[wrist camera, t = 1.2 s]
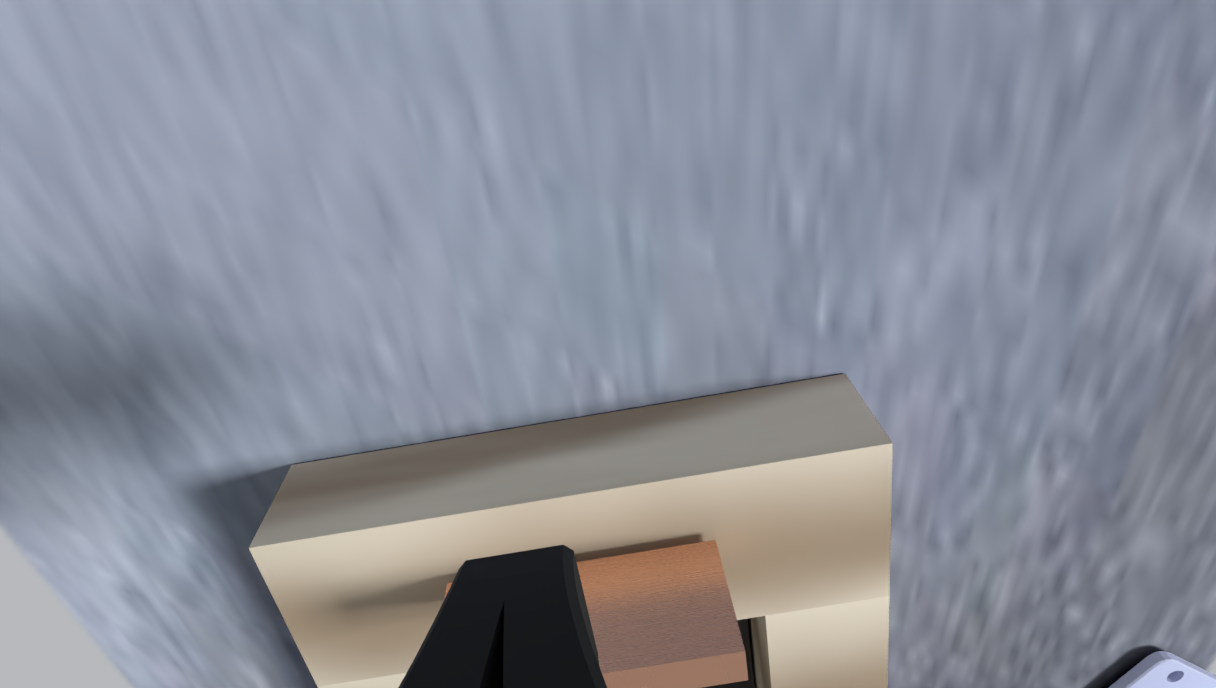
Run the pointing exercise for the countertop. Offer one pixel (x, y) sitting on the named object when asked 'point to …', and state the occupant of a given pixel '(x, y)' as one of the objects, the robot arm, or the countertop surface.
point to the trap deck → (605, 527)
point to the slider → (663, 618)
